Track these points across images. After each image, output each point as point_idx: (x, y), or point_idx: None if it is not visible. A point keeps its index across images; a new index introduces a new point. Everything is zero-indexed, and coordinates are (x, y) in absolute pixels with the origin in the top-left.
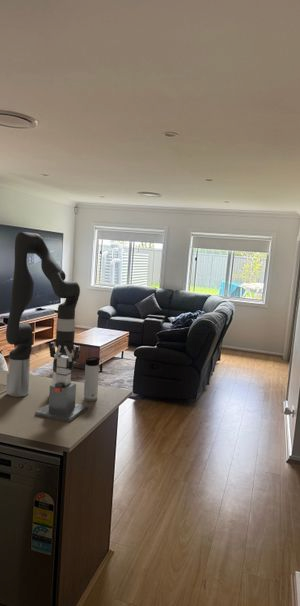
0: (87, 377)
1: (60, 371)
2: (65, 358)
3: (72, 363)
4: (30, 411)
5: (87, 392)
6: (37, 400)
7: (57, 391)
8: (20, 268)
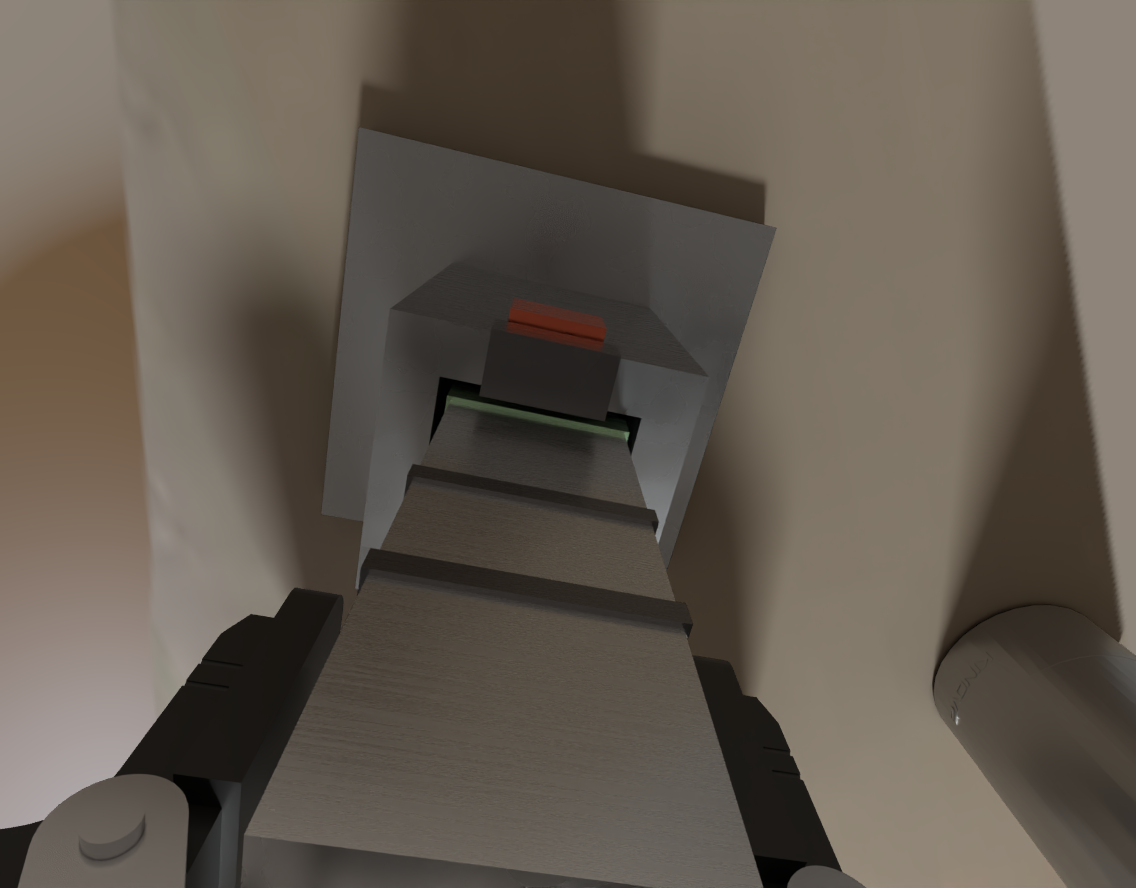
0: None
1: (552, 532)
2: (311, 849)
3: (148, 745)
4: (830, 315)
5: None
6: (825, 579)
7: (559, 308)
8: None
